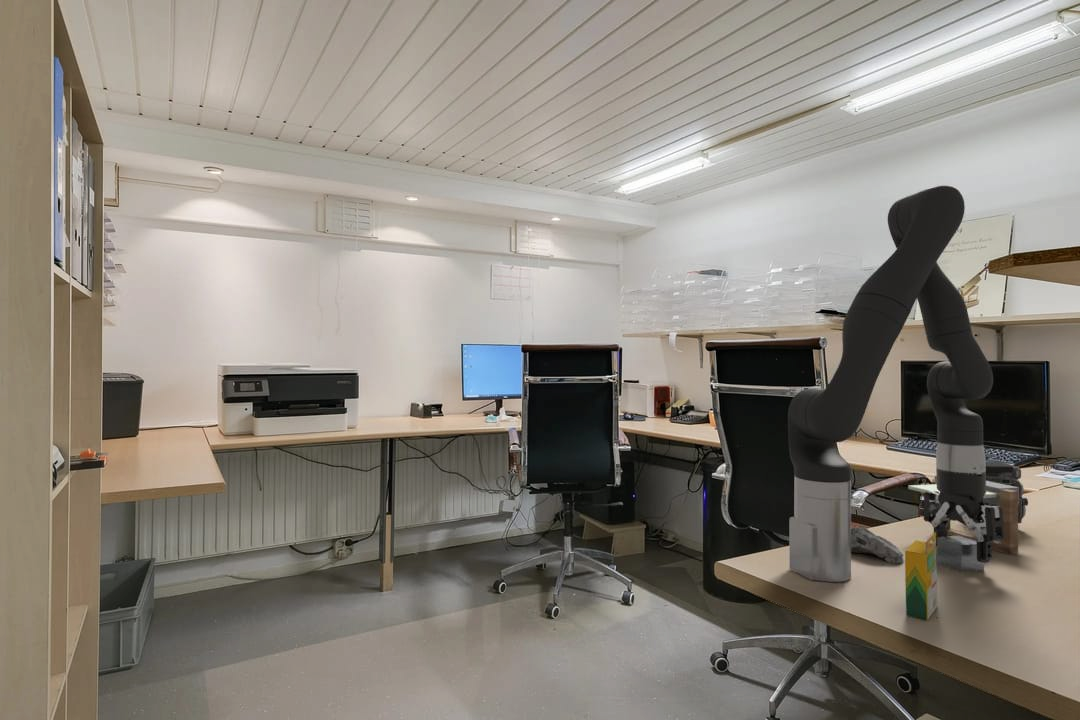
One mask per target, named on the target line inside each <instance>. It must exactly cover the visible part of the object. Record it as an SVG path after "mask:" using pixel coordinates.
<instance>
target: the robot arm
mask: <svg viewBox="0 0 1080 720" xmlns="http://www.w3.org/2000/svg"><path fill="white" fill-rule="evenodd" d="M965 207H966V206H965V200H964V197H963V195H962V194H961V192H960V190H958V189H957V188H956V187H954V186H952V185H948V184H946V185H945V184H944V185H943V184H942V185H935V186H931V187H928V188H925V189H922V190H920V191H917V192H915V193H912V194H911V193H910V194H909V195H906V196H904V197H901V198H900V199H898V200H897V201H894V203H893V204H892V205H891V206H890V207H889V210H888V213H887V226H888V229H889V232H890V236H891V239H892V241H893V243H894V245H895V248H896V250H895V251H894V252H893V253H892V254H891V255H890V256H889V258H887V260H885V261H884V262H883V263H882V264H881V265H880V266H879V267H878V268H877V269H876V270H875V271H874V272H872V274H871V275H870V276H869V277H868V279H866V281H864V283H862V286H860V288H859V290H858V291H857V293H856V294H855V296H854V298H853V300H852V302H851V305H850V306H849V308H848V310H847V312H846V314H845V317H844V320H843V323H842V329H841V330H842V334H841V335H842V353H841V359H840V361H839V364H838V366H837V368H836V370H835V372H834V374H833V376H832V377H831V380H830V381H829V383H828V384H827V385H826V387H825V388H805V389H803V390H801V391H799V392H798V393H796V394H795V395H794V396H793V398H792V400H791V401H790V404H789V408H788V412H787V430H788V432H787V433H788V450H789V452H788V453H789V457H790V461H791V464H792V465H793V475H794V478H793V479H794V486H793V487H794V491H793V492H794V493H793V496H794V497H793V498H794V499H793V501H794V505H793V509H794V511H793V513H794V516H791V517H789V521H788V522H789V525H788V527H789V528H788V529H789V534H788V535H789V536H788V537H789V541H788V542H789V570H790V571H793V572H795V573H796V574H799V575H801V576H802V577H804V578H806V579H808V580H810V581H823V582H830V583H831V582H832V583H833V582H834V583H835V582H836V583H841V582H846V581H848V580H850V579H852V552H851V529H852V469H851V465H850V463H849V462H848V461H847V460H846V459H844V457H842V455H841V454H840V452H839V450H838V448H837V443H841V442H844V441H847V440H849V439H850V438H851V437H852V436H853V435H854V434H855V433H856V432H857V430H858V429H859V427H860V424H861V423H862V420H863V418H864V416H865V413H866V410H867V407H868V405H869V401H870V399H871V396H872V393H873V391H874V388H875V385H876V383H877V380H878V378H879V375H880V374H881V371H882V369H883V367H884V365H885V364H886V361H887V358H888V357H889V355H890V353H891V350H892V348H893V347H894V344H895V342H896V341H897V339H898V337H899V335H900V333H901V331H902V329H903V327H904V326H905V324H906V322H907V320H908V318H909V316H910V314H911V311H912V309H913V307H914V305H915V303H916V302H918V305H919V309H920V314H921V318H922V322H923V328H924V331H925V336H926V340H927V344H928V346H929V347H930V349H932V350H933V351H935V352H939V353H942V354H944V355H945V357H946V358H947V359H948V361H941V362H937V363H936V364H934V365H933V366H932V367H931V368H930V369H929V372H928V375H927V377H926V378H927V379H926V390H927V393H928V397H929V399H930V403H931V406H932V410H933V413H934V416H935V419H936V422H937V423H936V424H937V428H936V430H937V432H936V433H937V435H936V437H937V439H936V440H937V444H936V446H937V447H936V453H935V459H936V460H935V461H936V463H935V465H936V466H935V467H936V473H935V474H936V475H935V476H936V479H937V489H938V491H940V493H939V492H938V491H930V492H925V493H923V495H924V496H923V520H924V521H925V522H928V523H929V524H931V526H932V527H933V534H934V533H935V532H936V547H937V537H946V536H949V535H948V528H946V527H945V526H947V525H948V523H949V522H950V523H951V521H953V522H955V521H956V522H959V523H961V524H964V525H966V526H967V528H968V529H969V530H970V531H972V532H973V534H974V536H976V537H977V539H978V540H979V541H977V561H979V562H982V563H983V562H984V563H989V562H991V560H992V558H993V549H992V542H993V541H994V542H997V541H999V542H1000V540H1004V525H1003V512H1002V508H1001V507H1000V506H987V505H985V503H984V501H983V497H984V495H985V494H986V461H987V460H986V454H985V447H984V423H983V422H984V421H983V418H982V417H981V415H979V414H978V413H975V412H973V411H971V410H969V409H968V408H967V406H966V403H965V400H971V401H973V400H974V401H975V400H980V399H983V398H985V397H986V396H987V395H989V393H990V392H991V391H992V388H993V384H994V375H993V374H994V373H993V370H992V367H991V364H990V363H989V361H988V359H987V358H986V355H985V354H984V352H983V350H982V349H981V347H980V345H979V344H978V342H977V340H976V338H975V337H974V335H973V330H972V326H971V325H972V324H971V322H970V317H969V312H968V308H967V304H966V302H965V300H964V298H963V296H962V294H961V293H960V291H959V290H958V289H957V287H956V286H955V285H954V284H953V283H952V281H951V280H950V279H949V278H948V276H947V275H946V274H945V272H943V269H941V267H940V265H939V263H938V260H939V258H940V257H941V256H942V254H943V252H944V251H945V249H946V248H947V246H948V244H949V243H950V242H951V240H952V239H953V237H954V236H955V235H956V233H957V231H958V230H959V228H960V226H961V223H962V222H963V218H964V215H965V210H966V209H965ZM939 503H940V505H941V506H942V507H941V509H940V510H939ZM983 513H984V514H983ZM984 516H985V517H984ZM977 520H978V522H979V523H975V522H976V521H977Z"/></svg>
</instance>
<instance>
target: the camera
mask: <svg viewBox="0 0 1080 720" xmlns="http://www.w3.org/2000/svg"><path fill="white" fill-rule="evenodd" d="M985 461H986V481H990V482H995V483H1000V484H1004V485H1009V486H1014V487H1019V505H1018V524H1022V520H1023V518H1025V516H1026V514H1027V509H1026V506H1028V505H1029V500H1028V498H1027V497H1023V495H1024V491H1025V490H1024V484H1022V482H1021V481H1020V479H1021V478H1022V469H1021V468H1020V467H1018V466H1016V465H1012V464H1010V463H1007V462H1001V461H999V460H998V461H997V460H985ZM984 503H985V502H984ZM985 505H987V506H998V505H994V504H990V503H985ZM983 514H984V513H983ZM984 517H985V516H984ZM975 523H979V522H978V520H977V521H976V522H975Z"/></svg>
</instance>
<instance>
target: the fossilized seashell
mask: <svg viewBox="0 0 1080 720" xmlns="http://www.w3.org/2000/svg"><path fill="white" fill-rule="evenodd" d="M851 553H855V554H862V553H864V554H865V555H867V554H868V555H870V554H872V555H875V556H877V557H879V558H881V559H882V560H885V561H886V563H889V564H903V562H904V559H903V557H905V554H903V552H902V551H901V550H900V549H899V548H898V546H896V545H895V544H893V542H891V541H889V540H888V539H886V538H885V537H884V538H883V537H882V536H880V535H876V534H875V533H874V532H872V531H871V530H869V529H868V528H866V527H865V526H863V525H858V526H854V527H851ZM864 554H863V555H864Z"/></svg>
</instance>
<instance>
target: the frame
mask: <svg viewBox="0 0 1080 720" xmlns="http://www.w3.org/2000/svg"><path fill="white" fill-rule="evenodd" d="M934 484H937V479H936V475H934ZM941 507H942V506H941V505H940V503H939V510H940V509H941ZM1000 507H1001V508H1002V512H1003V525H1004V540H999V542H997V541H993V542H992V550H995V551H998V552H1001V553H1005V554H1006V555H1007V554H1008V555H1019V523H1018V491H1014V490H1009V489H1003V490H1000ZM945 527H946V528H948V536H950V535H951V536H962V537H965V538H968V539H971V540H975V541H979V540H978V539H977V537H976V536H975V534H974V535H973V534H971V533H967V532H963V531H961V530H959V529H958V530H957V529H954V528H951V521H950V522H949V523H948V525H947V526H945Z"/></svg>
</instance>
